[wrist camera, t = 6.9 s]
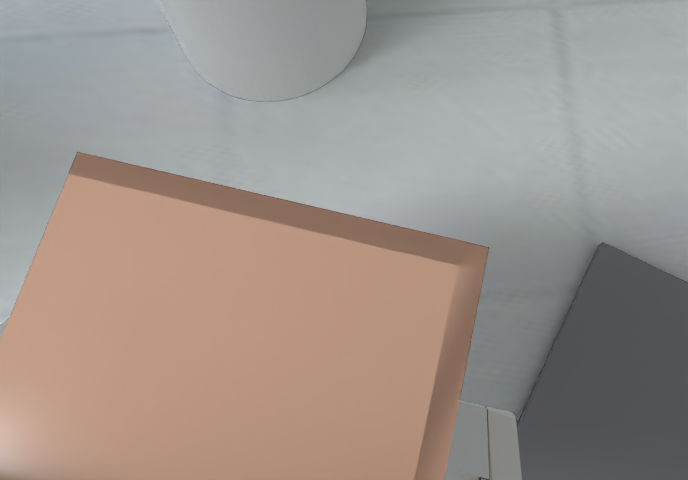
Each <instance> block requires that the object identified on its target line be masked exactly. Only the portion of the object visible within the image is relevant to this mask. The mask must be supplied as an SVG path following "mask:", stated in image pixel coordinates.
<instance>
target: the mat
mask: <svg viewBox="0 0 688 480" xmlns="http://www.w3.org/2000/svg"><path fill="white" fill-rule="evenodd" d="M517 434H518V444H519V454H520V464H521V474H522V480H688V283H687V282H685V281H683V280H681V279H679V278H677V277H675V276H673V275H671V274H668V273H666V272H664V271H662V270H660V269H658V268H656V267H654V266H652V265H650V264H647V263H645V262H643V261H641V260H639V259H637V258H635V257H633V256H631V255H629V254H627V253H624V252H622V251H620V250H618V249H616V248H614V247H612V246H610V245H608V244H606V243H604V242H603V243H602V244H600V245H599V246H598V248H597V251H596V253H595V255H594V257H593V259H592V262H591V264H590V266H589V268H588V270H587V273H586V275H585V277H584V279H583V281H582V284H581V286H580V288H579V290H578V292H577V294H576V297H575V299H574V301H573V303H572V305H571V308H570V310H569V312H568V314H567V316H566V319H565V321H564V323H563V325H562V327H561V330H560V332H559V334H558V336H557V338H556V341H555V343H554V345H553V347H552V349H551V352H550V354H549V356H548V358H547V360H546V363H545V365H544V367H543V369H542V371H541V373H540V376H539V378H538V380H537V382H536V384H535V387H534V389H533V391H532V393H531V395H530V398H529V400H528V402H527V404H526V406H525V409H524V411H523V413H522V415H521V417H520V420H519V422H518V424H517Z"/></svg>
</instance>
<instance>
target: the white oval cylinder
mask: <svg viewBox="0 0 688 480" xmlns="http://www.w3.org/2000/svg"><path fill="white" fill-rule="evenodd" d="M156 2H157V4H158V6H159V8H160V9H161V11H162V13H163V15H164V17H165V18H166V20H167V22H168V24H169V26H170V28H171V29H172V31H173V33H174V35H175V37H176V38H177V40H178V42H179V44H180V46H181V47H182V49H183V51H184V53H185V55H186V57H187V58H188V60H189V62H190V63H191V65H192V66H193V68H194V69H195V70H196V72H197V73H198V74H199V75H200V76H201V77H202V78H203V79H204V80H205V81H207V82H208V83H209V84H210V85H212V86H213V87H215V88H217V89H218V90H220V91H222V92H224V93H226V94H229V95H231V96H234V97H237V98H241V99H246V100H251V101H262V102H272V101H282V100H288V99H292V98H296V97H299V96H303V95H305V94H308V93H310V92H312V91H314V90H317V89H318V88H320V87H322V86H324V85H325V84H327V83H328V82H330V81H331V80H332V79H334V78H335V77H336V76H337V75H338V74H340V73H341V72H342V71H343V70H344V69H345V67H346V66H347V65H348V64H349V63H350V61H351V60H352V59H353V57H354V56H355V54H356V52H357V51H358V49H359V46H360V44H361V42H362V39H363V36H364V33H365V28H366V21H367V2H366V0H156Z"/></svg>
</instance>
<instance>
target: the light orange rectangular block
mask: <svg viewBox="0 0 688 480" xmlns="http://www.w3.org/2000/svg"><path fill="white" fill-rule="evenodd" d="M488 249H489V247H486V246H481V245H477V244H473V243H468V242H464V241H460V240H455V239H451V238H447V237H443V236H438V235H434V234H430V233H425V232H421V231H417V230H412V229H408V228H404V227H399V226H395V225H391V224H386V223H382V222H378V221H374V220H369V219H365V218H361V217H356V216H352V215H348V214H343V213H339V212H335V211H330V210H326V209H322V208H317V207H313V206H309V205H305V204H300V203H296V202H292V201H287V200H283V199H279V198H274V197H270V196H266V195H261V194H257V193H253V192H248V191H244V190H240V189H236V188H231V187H227V186H223V185H218V184H214V183H210V182H205V181H201V180H197V179H192V178H188V177H184V176H179V175H175V174H171V173H167V172H162V171H158V170H154V169H149V168H145V167H141V166H136V165H132V164H128V163H123V162H119V161H115V160H110V159H106V158H102V157H98V156H93V155H89V154H85V153H80V152H77V154H76V156H75V159H74V161H73V164H72V166H71V168H70V171H69V173H68V176H67V178H66V181H65V183H64V186H63V188H62V191H61V193H60V195H59V198H58V200H57V203H56V205H55V208H54V210H53V213H52V215H51V217H50V220H49V222H48V225H47V227H46V230H45V232H44V235H43V237H42V240H41V242H40V244H39V247H38V249H37V252H36V254H35V257H34V259H33V262H32V264H31V266H30V269H29V271H28V274H27V276H26V279H25V281H24V284H23V286H22V288H21V291H20V293H19V296H18V298H17V301H16V303H15V306H14V308H13V311H12V313H11V315H10V318H9V320H8V323H7V325H6V328H5V330H4V333H3V335H2V337H1V340H0V480H444V478H445V473H446V468H447V462H448V457H449V452H450V447H451V442H452V436H453V431H454V426H455V421H456V416H457V410H458V405H459V400H460V395H461V390H462V384H463V379H464V374H465V369H466V364H467V358H468V353H469V348H470V343H471V338H472V333H473V327H474V322H475V317H476V312H477V307H478V301H479V296H480V291H481V286H482V281H483V275H484V270H485V265H486V260H487V255H488Z"/></svg>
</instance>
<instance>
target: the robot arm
mask: <svg viewBox="0 0 688 480" xmlns="http://www.w3.org/2000/svg"><path fill="white" fill-rule="evenodd" d="M8 320H9V319H8ZM8 320H6V321H5V322H4V323H3V324H1V325H0V340H1V337H2V335H3V333H4V330H5V328H6V325H7V323H8ZM444 480H522V474H521V464H520V454H519V444H518V434H517V424H516V417H515V415H514V413H513V412H508V411H504V410H500V409H496V408H492V407H488V406H485V407H484V406H483V405H479V404H475V403H471V402H467V401H463V400H459V405H458V410H457V416H456V421H455V426H454V431H453V436H452V442H451V447H450V452H449V457H448V462H447V468H446V473H445V478H444Z"/></svg>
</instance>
